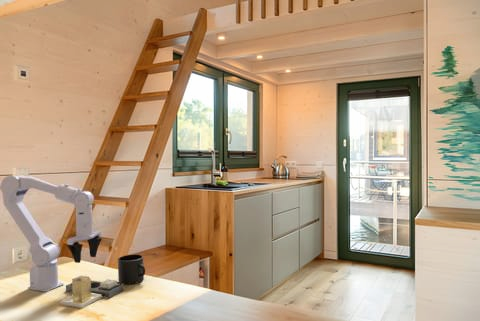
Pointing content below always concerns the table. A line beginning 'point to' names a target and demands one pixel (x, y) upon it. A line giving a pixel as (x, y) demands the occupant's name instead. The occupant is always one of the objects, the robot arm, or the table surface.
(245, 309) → the table surface
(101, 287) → the rail
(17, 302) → the table surface
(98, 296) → the parts tray
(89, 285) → the wooden block
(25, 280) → the table surface
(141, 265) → the mug
